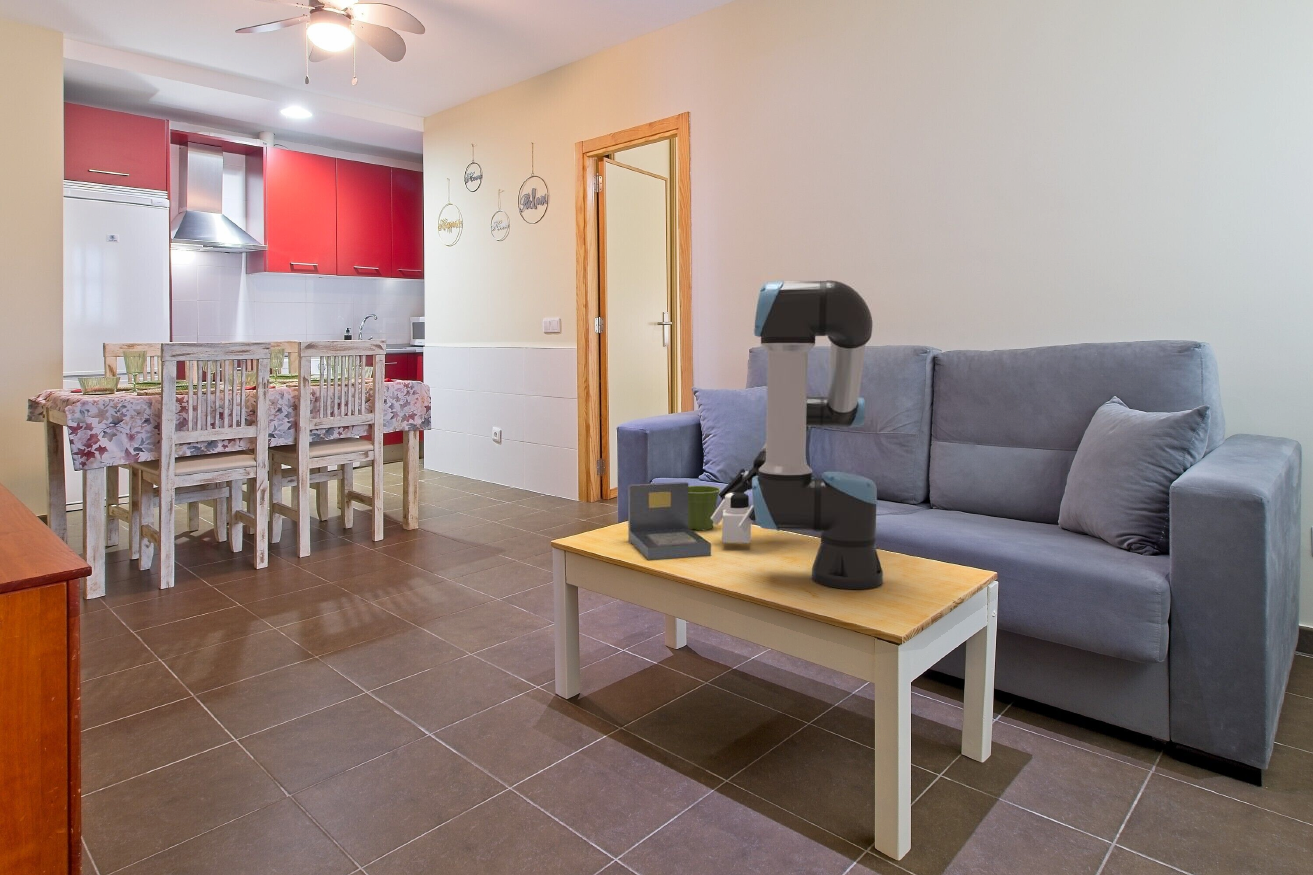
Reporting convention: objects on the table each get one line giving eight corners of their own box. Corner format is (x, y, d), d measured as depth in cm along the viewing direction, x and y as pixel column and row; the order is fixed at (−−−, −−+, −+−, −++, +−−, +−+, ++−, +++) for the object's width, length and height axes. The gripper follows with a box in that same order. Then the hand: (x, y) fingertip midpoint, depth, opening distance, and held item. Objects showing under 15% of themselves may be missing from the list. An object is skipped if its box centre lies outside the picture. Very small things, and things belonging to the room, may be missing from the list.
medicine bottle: (750, 536, 200) (750, 491, 199) (750, 543, 193) (751, 496, 192) (722, 536, 201) (723, 490, 200) (722, 542, 194) (722, 495, 192)
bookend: (710, 555, 189) (711, 495, 187) (648, 560, 184) (647, 498, 183) (685, 536, 208) (686, 481, 206) (628, 540, 204) (628, 484, 202)
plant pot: (701, 521, 227) (701, 483, 225) (729, 528, 217) (729, 489, 216) (670, 526, 219) (670, 488, 218) (697, 534, 210) (697, 494, 209)
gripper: (811, 472, 196) (766, 542, 188) (750, 463, 213) (706, 526, 205) (797, 453, 192) (751, 523, 184) (736, 445, 210) (691, 509, 202)
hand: (727, 525), depth 195 cm, fingers closed on medicine bottle, 10 cm apart
